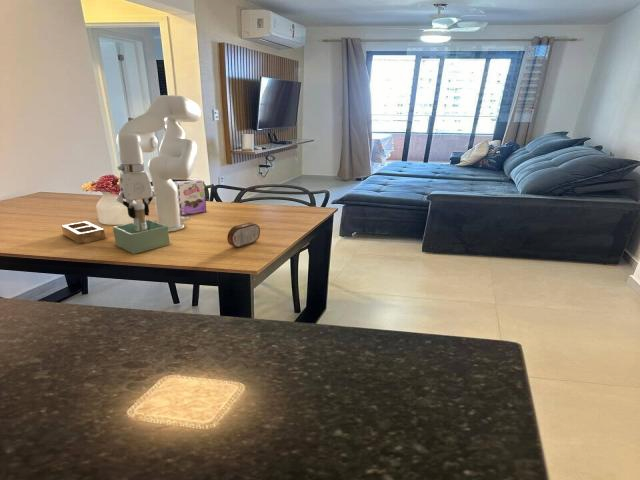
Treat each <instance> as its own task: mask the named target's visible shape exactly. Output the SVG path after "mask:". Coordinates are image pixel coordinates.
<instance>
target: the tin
mask: <svg viewBox="0 0 640 480" xmlns="http://www.w3.org/2000/svg"><path fill="white" fill-rule="evenodd" d="M260 236H261V228H260V226H259V225H258V224H256V223H254V222H252V221H251V222H246V223H242V224H237V225H234V226H233V227H231V228H230V230H229V231H228V233H227V238H226V240H227V243H228V244H229V245H230V246H231V247H235V248H240V247H244V246H248V245H251V244H254V243H256V242H257V241H258V239H259V238H260Z"/></svg>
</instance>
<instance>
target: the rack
mask: <svg viewBox="0 0 640 480" xmlns="http://www.w3.org/2000/svg"><path fill="white" fill-rule="evenodd" d="M61 231H62V235H63V236H65V237H67V238H69V239H71V240H72V241H74V242H75V243H77V244H80V245H83V244H87V243H93V242H96V241H101V240H105V239H106V233H105V229H104V228H102V227H100V226H99V225H98V226H97V225H96V224H93V223H91V222H89V221H87V220H84V221H80V222H74V223H73V222H72V223H68V224H62V225H61Z"/></svg>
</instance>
